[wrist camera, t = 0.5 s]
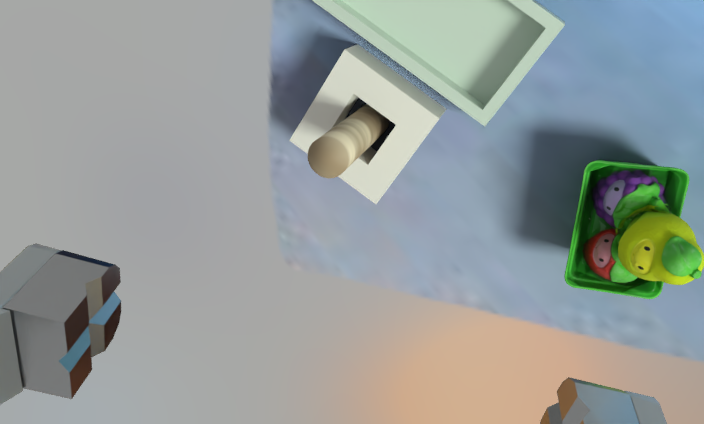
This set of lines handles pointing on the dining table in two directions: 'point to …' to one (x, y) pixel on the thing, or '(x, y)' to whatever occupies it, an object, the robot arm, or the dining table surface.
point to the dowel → (346, 142)
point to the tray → (456, 43)
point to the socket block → (385, 97)
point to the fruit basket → (632, 231)
